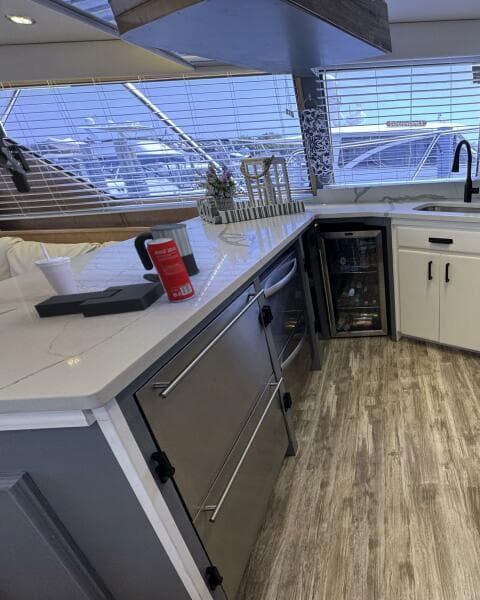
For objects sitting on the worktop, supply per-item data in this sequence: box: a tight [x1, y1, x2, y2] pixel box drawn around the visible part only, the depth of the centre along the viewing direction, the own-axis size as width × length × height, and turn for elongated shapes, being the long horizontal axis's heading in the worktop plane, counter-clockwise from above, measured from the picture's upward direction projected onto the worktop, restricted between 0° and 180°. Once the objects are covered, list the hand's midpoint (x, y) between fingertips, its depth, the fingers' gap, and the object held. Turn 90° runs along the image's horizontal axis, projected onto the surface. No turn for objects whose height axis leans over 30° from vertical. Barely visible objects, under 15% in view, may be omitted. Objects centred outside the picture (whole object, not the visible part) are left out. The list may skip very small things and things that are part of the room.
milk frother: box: [133, 223, 200, 283], centre depth 93 cm, size 14×16×15 cm
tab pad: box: [33, 290, 119, 319], centre depth 76 cm, size 14×6×3 cm, turn 104°
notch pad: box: [79, 281, 166, 318], centre depth 78 cm, size 12×12×3 cm
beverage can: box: [146, 238, 196, 303], centre depth 77 cm, size 6×6×15 cm
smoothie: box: [34, 243, 79, 296], centre depth 83 cm, size 6×6×14 cm
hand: (10, 194), depth 72 cm, fingers open, 8 cm apart
